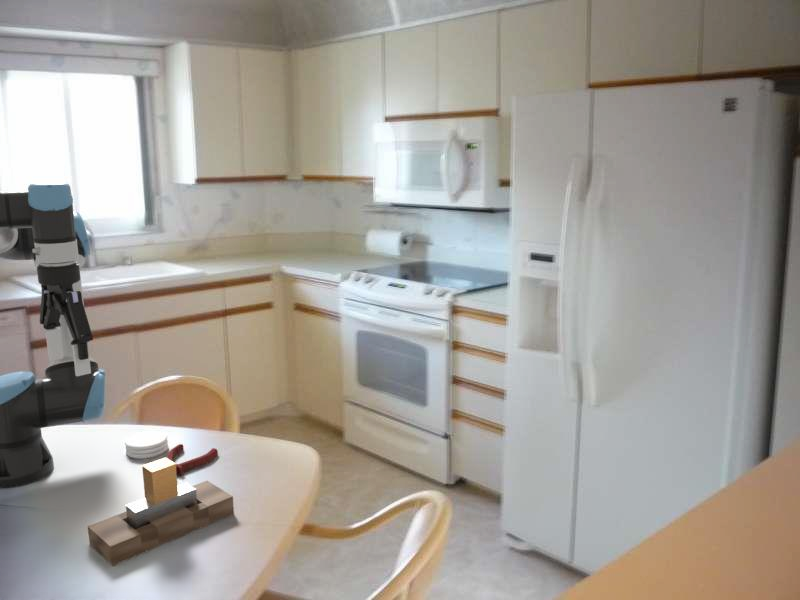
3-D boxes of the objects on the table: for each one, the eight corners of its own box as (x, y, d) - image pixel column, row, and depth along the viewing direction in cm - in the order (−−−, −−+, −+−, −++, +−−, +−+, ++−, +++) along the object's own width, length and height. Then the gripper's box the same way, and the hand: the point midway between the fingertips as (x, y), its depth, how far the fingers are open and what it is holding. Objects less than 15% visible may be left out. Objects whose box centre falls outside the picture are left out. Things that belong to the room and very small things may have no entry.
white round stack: (174, 452, 181) (173, 439, 181) (135, 463, 175) (133, 450, 174) (158, 439, 189) (157, 426, 188) (120, 450, 183) (118, 437, 182)
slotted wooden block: (89, 544, 141) (87, 526, 140) (208, 497, 159) (207, 480, 158) (112, 566, 134) (110, 546, 133) (233, 513, 152) (232, 496, 151)
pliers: (130, 488, 164) (129, 478, 163) (178, 451, 182) (178, 441, 182) (175, 495, 161) (174, 484, 160) (220, 456, 180) (219, 446, 179)
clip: (128, 537, 143) (122, 472, 140) (188, 513, 152) (183, 451, 149) (138, 545, 140) (132, 479, 137) (198, 520, 149) (193, 457, 146)
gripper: (14, 257, 147) (27, 357, 152) (63, 274, 130) (75, 386, 135) (52, 253, 153) (63, 349, 157) (104, 268, 136) (115, 376, 140)
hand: (69, 366), depth 146 cm, fingers open, 13 cm apart
